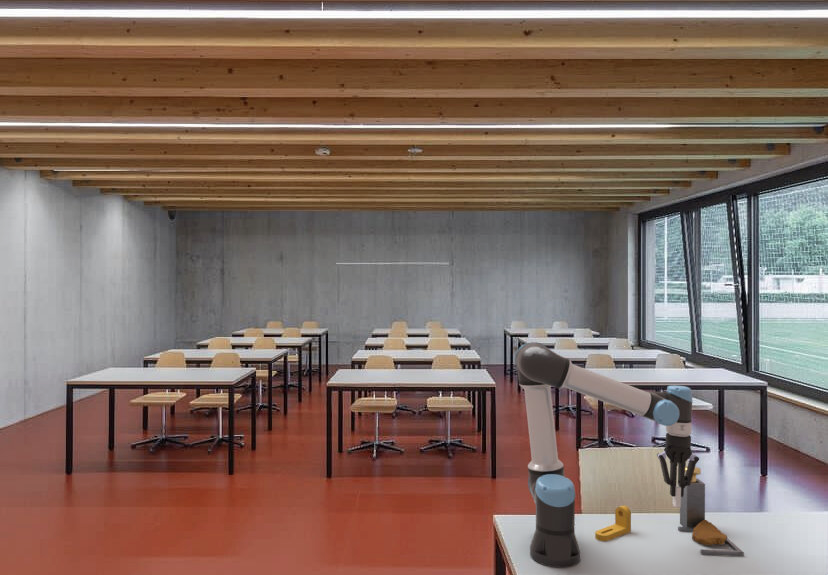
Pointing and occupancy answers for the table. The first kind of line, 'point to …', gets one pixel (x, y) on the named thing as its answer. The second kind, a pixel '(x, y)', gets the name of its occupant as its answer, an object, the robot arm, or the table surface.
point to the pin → (696, 472)
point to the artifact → (708, 534)
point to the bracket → (616, 525)
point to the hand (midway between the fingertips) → (676, 506)
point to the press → (700, 516)
